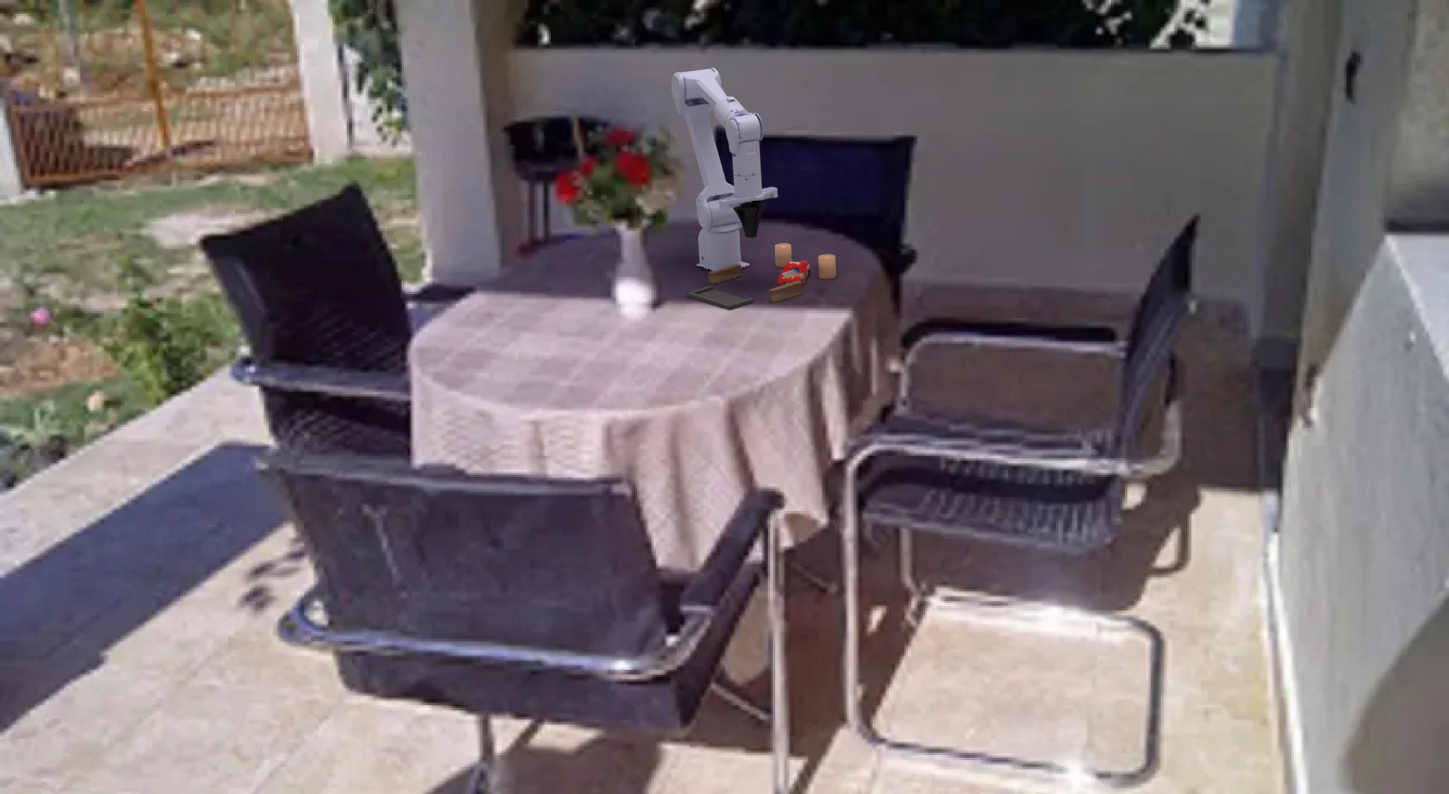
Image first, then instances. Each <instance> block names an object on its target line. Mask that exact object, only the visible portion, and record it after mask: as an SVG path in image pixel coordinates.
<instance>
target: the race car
mask: <svg viewBox="0 0 1449 794" xmlns="http://www.w3.org/2000/svg"><path fill="white" fill-rule="evenodd" d="M779 272H780V274H779V277H778V278H777V284H776V285H777V287H779V286H782V285H785V284H789V283H792V282H795V281H800V282H802V286H803V285H804V284H805V283H806V281H807V280H808V278H809V277H810V276H809V275H811V267H810V263H809V262H808V261H807V260H792V261H789V262H788V263H787V264H786V266H785V267H783V269H780V270H779Z"/></svg>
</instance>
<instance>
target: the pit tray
mask: <svg viewBox="0 0 1449 794" xmlns="http://www.w3.org/2000/svg"><path fill="white" fill-rule="evenodd" d="M714 291H715V292H714ZM723 294H724V295H723ZM726 294H729V295H726ZM686 297H687V298H690V297H691V298H690V299H693V298H694V299H693V300H695V301H696V300H697V301H699V300H700V301H699V302H702V301H703V303H705V302H706V304H709V305H712V306H715V305H716V306H715V307H719V308H722V309H724V308H726V309H725V310H727V309H728V310H727V311H731V310H734V308H735V309H737V307H738V308H740V307H739V306H741V307H743V306H742V305H744V306H747V305H750V304H753V302H754V301H755V300H754V298H753V297H749V298H743V297H741V298H740V297H739V296H736V295H734V294H730V293H728V292H723V291H721V290H718V289H714V285H709V286H704V287H702V288H699V289H695V290H691V291H689V292H686ZM725 297H726V298H725ZM725 302H726V303H725ZM749 303H750V304H749ZM754 303H755V302H754ZM746 304H747V305H746Z"/></svg>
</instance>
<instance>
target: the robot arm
mask: <svg viewBox="0 0 1449 794" xmlns="http://www.w3.org/2000/svg"><path fill="white" fill-rule="evenodd" d="M721 79H722V78H721V75H720V73H719V72H718V70H717V69H716V68H715V67H710V68H706V69H705V68H704V69H698V70H690V71H681V72H678V71H677V72H675V73H674V74H673V76H672V78H671V94H672V98H673V102H674V106H675V108H676V110H677V111H676V112H677V114H679V115H681V116H683V117H684V119H685V122H686V125H687V129H688V132H689V136H690V140H691V143H692V144H691V145H692V147H693V152H694V154H695V158H696V161H697V165H698V169H699V173H700V176H701V179H702V184H703V187H704V188H703V189H702V190H701V191H700V193H699V194H698V195H697V197H696V201H695V205H696V210H697V211H696V212H697V215H696V216H697V219H698V220H697V221H698V223H699V225H700V226H701V230H700V231H699V234H698V239H697V242H698V256H699V258H698V259H699V263H696V266H697V267H698V266H702V267H704V268H703V269H705V268H706V269H705V270H708V269H710V270H709V271H714V270H718V269H721V268H724V267H728V266H731V265H734V264H739V265H741V269H743V267H744V268H747V267H750V262H749V263H748V262H744V261H742V256H741V254H742V253H741V239H740V238H741V236H740V229H743V232H744V235H745V237H746V238H750V239H753V238H757V235H758V231H759V225H760V221H761V218H762V215H763V213H764V211H765V209H766V208H767V207H766V202H762V201H763V200H768V199H772V198H773V199H776V198H778V197H779V195H778V188H777V187H775V186H769V187H764V188H762V187H763V186H762V171H761V169H762V168H761V167H762V166H761V153H760V150H761V149H760V142H761V141H762V140H763V137H764V133H765V132H764V124H763V120H762V118H761V116H760V115H759V113H757V112H748V111H747V110H746V109H745V108H744V106H743V105H742V104H741V103H740V102H739V100H737V99H736V98H735V97H734V96H727V93H726V92H725V90H724V89H723V88H722V80H721ZM712 111H713V114H714V117H715V118H716V119H717V121H718V122H719V123H720V124H721V126H722V127H723V128H724V129H725V135H726V138H727V141H728V148H729V152H730V153H731V154H732V158H731V159H732V170H733V172H732V173H733V185H732V184H730V183H728V182H727V181H726V177H725V173H724V170H723V166H722V163H721V159H720V156H719V152H718V148H717V144H716V141H715V137H714V134H713V131H712V125H711V123H710V119H709V114H710V113H711V112H712ZM746 266H747V267H746Z"/></svg>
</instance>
